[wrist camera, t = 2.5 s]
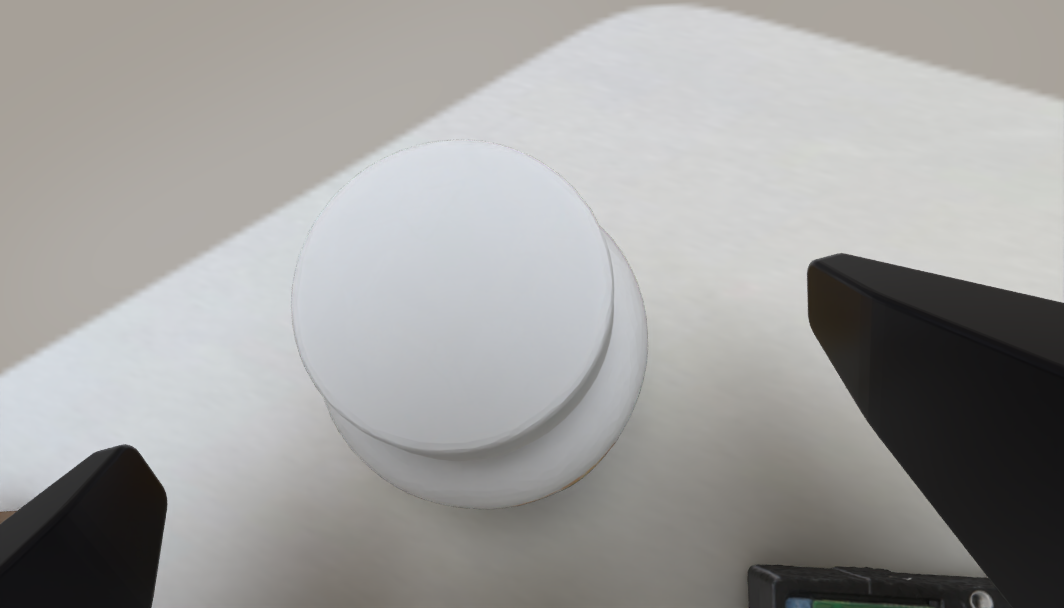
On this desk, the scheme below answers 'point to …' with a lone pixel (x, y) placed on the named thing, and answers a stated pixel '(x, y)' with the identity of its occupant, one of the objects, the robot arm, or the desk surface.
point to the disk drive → (865, 589)
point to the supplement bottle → (469, 324)
